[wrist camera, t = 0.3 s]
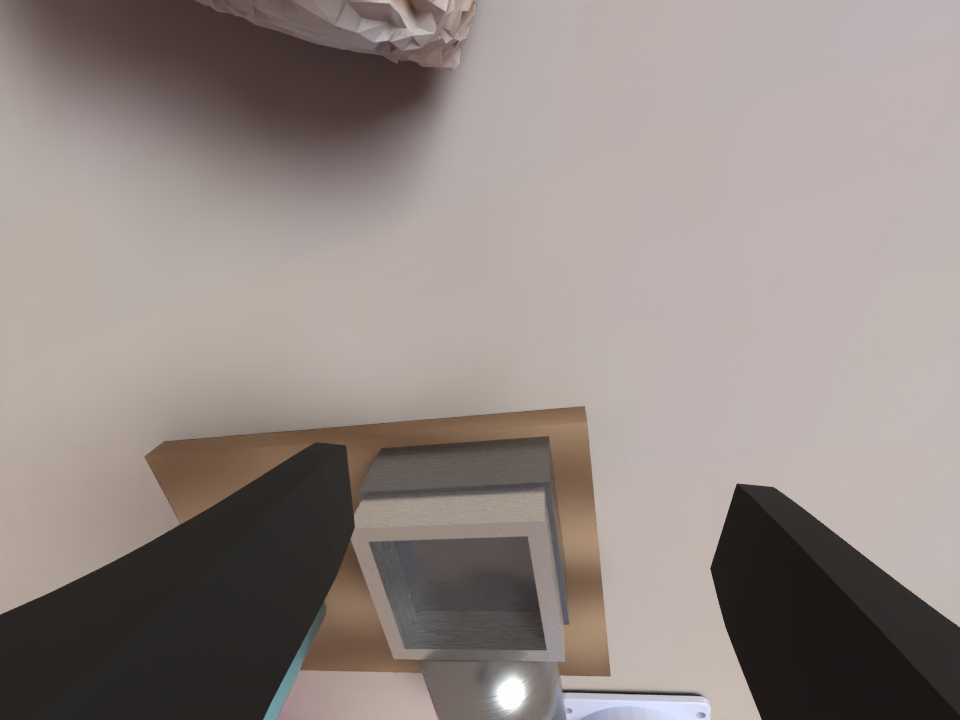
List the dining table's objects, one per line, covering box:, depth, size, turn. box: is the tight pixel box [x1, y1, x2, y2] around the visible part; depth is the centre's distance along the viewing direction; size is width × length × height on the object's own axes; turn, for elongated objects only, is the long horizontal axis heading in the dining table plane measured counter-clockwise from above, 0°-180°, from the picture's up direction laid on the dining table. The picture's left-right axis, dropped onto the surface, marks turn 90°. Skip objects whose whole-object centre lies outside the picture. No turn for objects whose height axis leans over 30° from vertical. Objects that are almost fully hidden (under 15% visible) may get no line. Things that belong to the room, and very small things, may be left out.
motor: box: [351, 436, 569, 720], centre depth 19 cm, size 14×7×6 cm, turn 10°
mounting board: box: [145, 407, 611, 676], centre depth 23 cm, size 15×20×1 cm
